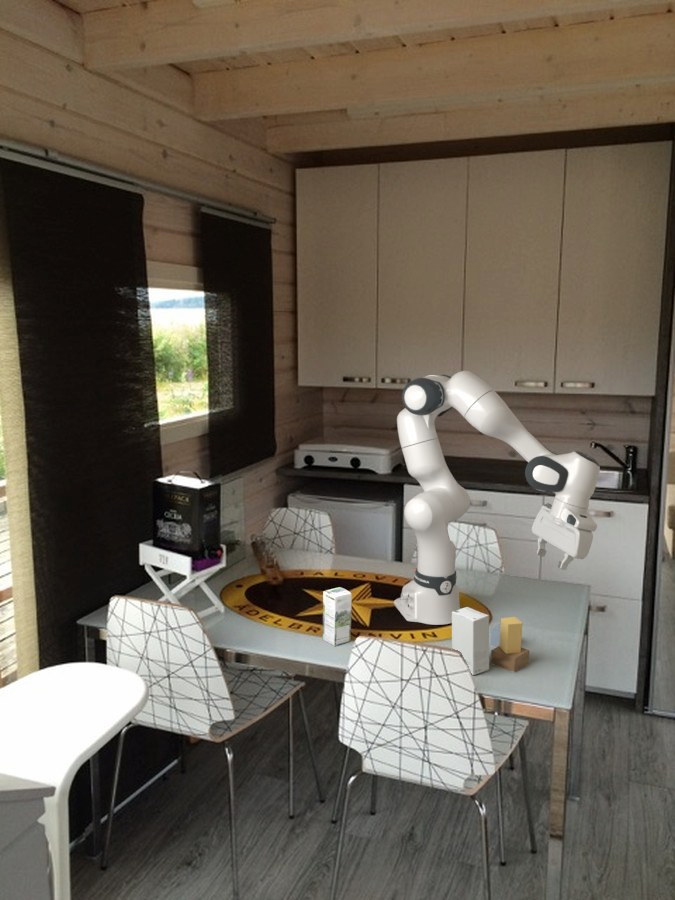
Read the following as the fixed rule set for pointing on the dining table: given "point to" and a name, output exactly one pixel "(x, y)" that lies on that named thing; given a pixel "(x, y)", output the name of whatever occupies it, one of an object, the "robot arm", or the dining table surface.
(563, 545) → the robot arm
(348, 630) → the syrup box
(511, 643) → the ochre post
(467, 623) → the skincare box
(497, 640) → the slate cube
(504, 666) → the walnut block
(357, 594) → the dining table surface
